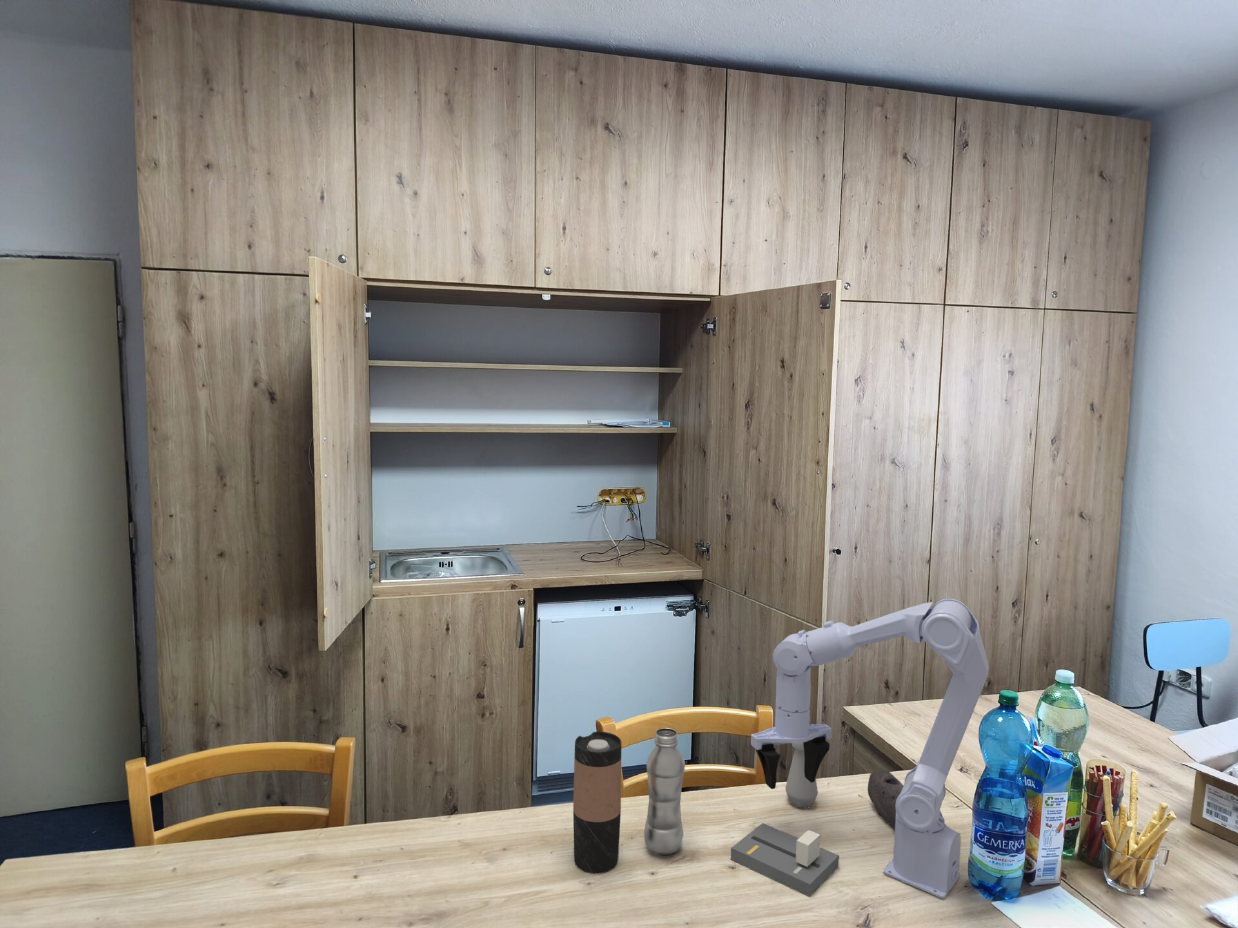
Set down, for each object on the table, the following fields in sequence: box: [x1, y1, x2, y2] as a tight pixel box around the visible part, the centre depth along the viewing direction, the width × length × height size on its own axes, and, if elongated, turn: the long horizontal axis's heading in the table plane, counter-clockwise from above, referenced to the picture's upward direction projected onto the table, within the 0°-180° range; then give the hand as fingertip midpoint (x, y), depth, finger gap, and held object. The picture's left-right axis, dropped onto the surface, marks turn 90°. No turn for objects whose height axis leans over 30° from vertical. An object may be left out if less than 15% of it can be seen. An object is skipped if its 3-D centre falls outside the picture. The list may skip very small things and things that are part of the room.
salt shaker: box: [785, 743, 819, 809], centre depth 144 cm, size 6×6×13 cm
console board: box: [730, 822, 840, 898], centre depth 126 cm, size 14×10×2 cm
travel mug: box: [572, 731, 622, 874], centre depth 125 cm, size 8×8×20 cm
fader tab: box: [796, 829, 821, 867], centre depth 123 cm, size 2×4×4 cm, turn 139°
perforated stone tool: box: [867, 769, 904, 829], centre depth 138 cm, size 15×5×7 cm, turn 6°
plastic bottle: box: [643, 727, 686, 856], centre depth 129 cm, size 6×7×20 cm
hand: (790, 782), depth 133 cm, fingers open, 7 cm apart
